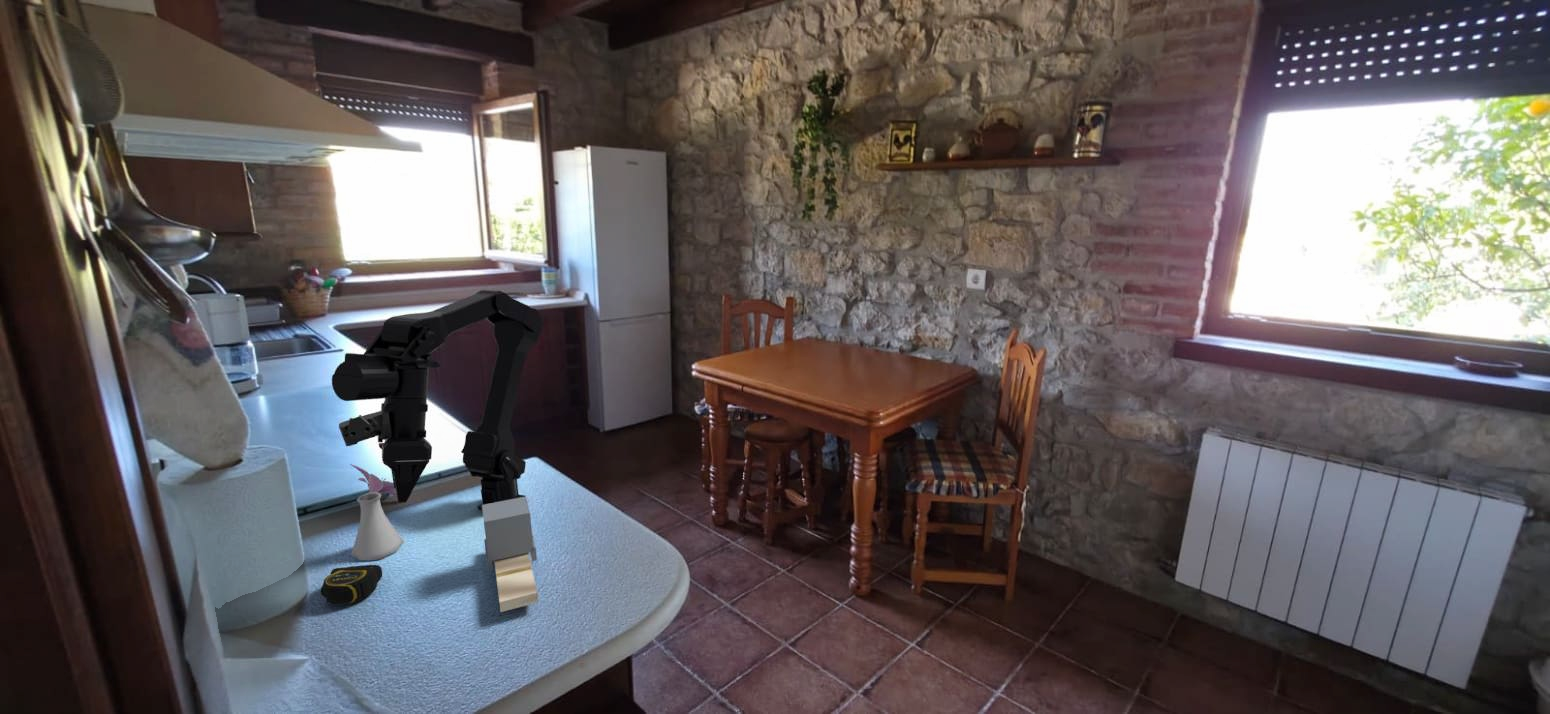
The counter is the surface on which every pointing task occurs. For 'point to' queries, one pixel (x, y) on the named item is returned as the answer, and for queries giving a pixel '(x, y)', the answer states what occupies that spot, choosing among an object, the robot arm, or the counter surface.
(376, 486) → the lily
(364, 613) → the counter surface
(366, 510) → the flask
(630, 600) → the counter surface
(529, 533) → the block
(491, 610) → the counter surface
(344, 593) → the tape measure
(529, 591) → the beam
